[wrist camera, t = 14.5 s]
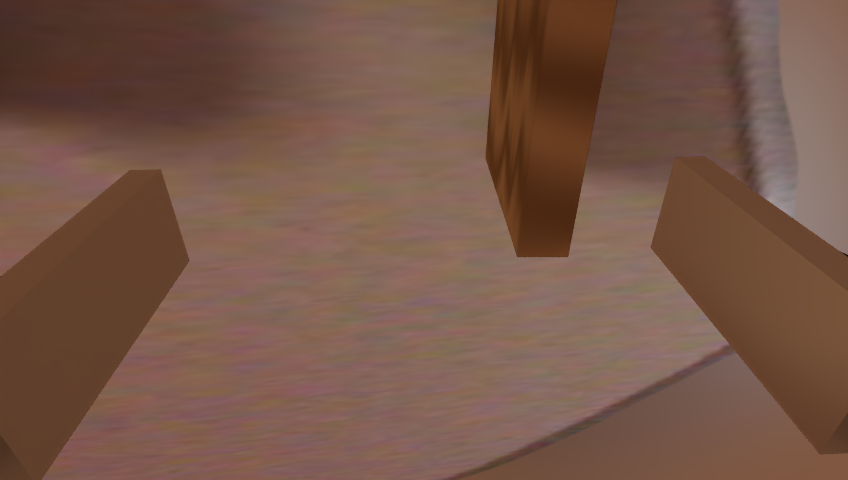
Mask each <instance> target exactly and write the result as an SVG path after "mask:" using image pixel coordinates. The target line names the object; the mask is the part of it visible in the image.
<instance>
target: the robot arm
mask: <svg viewBox="0 0 848 480" xmlns="http://www.w3.org/2000/svg"><path fill="white" fill-rule="evenodd" d="M651 249H652V250H653V251H654V252H655V253H656V255H657V256H658V257H659V258H660V260H661V261H662V262H663V263H664V264H665V266H666V267H667V268H668V269H669V271H670V272H671V273H672V274H673V275H674V277H675V278H676V279H677V280H678V282H679V283H680V284H681V285H682V286H683V288H684V289H685V290H686V291H687V293H688V294H689V295H690V296H691V297H692V299H693V300H694V301H695V302H696V304H697V305H698V306H699V307H700V308H701V310H702V311H703V312H704V313H705V315H706V316H707V317H708V318H709V320H710V321H711V322H712V323H713V324H714V326H715V327H716V328H717V329H718V331H719V332H720V333H721V334H722V335H723V337H724V338H725V339H726V340H727V342H728V343H729V344H730V345H731V346H732V348H733V349H734V350H735V351H736V353H737V354H738V355H739V356H740V357H741V359H742V360H743V361H744V362H745V364H746V365H747V366H748V367H749V368H750V369H751V371H752V372H753V373H754V375H755V376H756V377H757V378H758V379H759V381H760V382H761V383H762V384H763V386H764V387H765V388H766V389H767V390H768V392H769V393H770V394H771V395H772V396H773V398H774V399H775V400H776V401H777V403H778V404H779V405H780V406H781V408H782V409H783V410H784V411H785V412H786V414H787V415H788V416H789V417H790V419H791V420H792V421H793V422H794V423H795V424H796V426H797V427H798V428H799V430H800V431H801V432H802V433H803V434H804V436H805V437H806V438H807V439H808V441H809V442H810V443H811V444H812V445H813V447H814V448H815V449H816V450H817V452H818V453H819V454H838V453H848V255H847V254H845V253H842V252H840V251H838V250H837V249H836V248H834V247H833V246H831V245H830V244H828V243H827V242H826V241H824V240H823V239H821V238H820V237H819V236H817V235H815V234H814V233H813V232H811V231H810V230H808V229H807V228H806V227H804V226H803V225H801V224H800V223H799V222H797V221H796V220H794V219H793V218H791V217H790V216H789V215H787V214H786V213H784V212H783V211H781V210H780V209H779V208H777V207H776V206H774V205H773V204H772V203H770V202H769V201H767V200H766V199H764V198H763V197H762V196H760V195H759V194H757V193H756V192H754V191H753V190H752V189H750V188H749V187H747V186H746V185H744V184H743V183H742V182H740V181H739V180H737V179H736V178H735V177H733V176H732V175H730V174H729V173H727V172H726V171H725V170H723V169H722V168H720V167H719V166H717V165H716V164H715V163H713V162H712V161H710V160H709V159H707V158H706V157H675V161H674V164H673V168H672V172H671V175H670V179H669V183H668V186H667V190H666V193H665V197H664V201H663V204H662V208H661V212H660V215H659V219H658V222H657V226H656V230H655V233H654V237H653V241H652V244H651ZM188 262H189V257H188V254H187V251H186V248H185V245H184V242H183V238H182V235H181V232H180V229H179V226H178V222H177V219H176V216H175V213H174V210H173V207H172V203H171V200H170V197H169V194H168V191H167V188H166V184H165V181H164V178H163V175H162V172H161V169H159V170H129V171H128V172H127V173H126V174H125V175H123V176H122V177H121V178H120V179H119V180H117V181H116V182H115V183H114V184H113V185H111V186H110V187H109V188H108V189H106V190H105V191H104V192H103V193H102V194H100V195H99V196H98V197H97V198H96V199H94V200H93V201H92V202H91V203H89V204H88V205H87V206H86V207H85V208H83V209H82V210H81V211H80V212H79V213H77V214H76V215H75V216H74V217H73V218H71V219H70V220H69V221H68V222H66V223H65V224H64V225H63V226H62V227H60V228H59V229H58V230H57V231H56V232H54V233H53V234H52V235H51V236H49V237H48V238H47V239H46V240H45V241H43V242H42V243H41V244H40V245H39V246H37V247H36V248H35V249H34V250H32V251H31V252H30V253H29V254H28V255H26V256H25V257H24V258H23V259H22V260H20V261H19V262H18V263H17V264H16V265H14V266H13V267H12V268H11V269H9V270H8V271H7V272H6V273H5V274H3V275H2V276H0V480H42V478H43V477H44V475H45V474H46V472H47V471H48V469H49V468H50V466H51V465H52V463H53V462H54V460H55V459H56V457H57V456H58V454H59V453H60V451H61V450H62V449H63V447H64V446H65V444H66V443H67V441H68V440H69V438H70V437H71V435H72V434H73V432H74V431H75V429H76V428H77V426H78V425H79V423H80V422H81V420H82V419H83V417H84V416H85V415H86V413H87V412H88V410H89V409H90V407H91V406H92V404H93V403H94V401H95V400H96V398H97V397H98V395H99V394H100V392H101V391H102V389H103V388H104V386H105V385H106V383H107V382H108V381H109V379H110V378H111V376H112V375H113V373H114V372H115V370H116V369H117V367H118V366H119V364H120V363H121V361H122V360H123V358H124V357H125V355H126V354H127V352H128V351H129V349H130V348H131V347H132V345H133V344H134V342H135V341H136V339H137V338H138V336H139V335H140V333H141V332H142V330H143V329H144V327H145V326H146V324H147V323H148V321H149V320H150V318H151V317H152V315H153V314H154V312H155V311H156V310H157V308H158V307H159V305H160V304H161V302H162V301H163V299H164V298H165V296H166V295H167V293H168V292H169V290H170V289H171V287H172V286H173V284H174V283H175V281H176V280H177V278H178V277H179V276H180V274H181V273H182V271H183V270H184V268H185V267H186V265H187V264H188Z"/></svg>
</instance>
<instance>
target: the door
mask: <svg viewBox="0 0 848 480" xmlns="http://www.w3.org/2000/svg"><path fill="white" fill-rule="evenodd" d="M616 4H617V0H498V4H497V17H496V29H495V42H494V55H493V68H492V81H491V94H490V107H489V119H488V132H487V145H486V161H487V164H488V167H489V170H490V173H491V177H492V180H493V183H494V186H495V189H496V192H497V195H498V198H499V202H500V205H501V208H502V211H503V214H504V217H505V220H506V223H507V226H508V230H509V233H510V236H511V239H512V242H513V245H514V248H515V251H516V254H517V257H568V255H569V249H570V244H571V239H572V234H573V229H574V223H575V218H576V213H577V208H578V202H579V197H580V192H581V187H582V181H583V176H584V171H585V166H586V161H587V155H588V150H589V145H590V140H591V134H592V129H593V124H594V119H595V114H596V108H597V103H598V98H599V93H600V87H601V82H602V77H603V72H604V66H605V61H606V56H607V51H608V46H609V40H610V35H611V30H612V25H613V19H614V14H615V9H616Z"/></svg>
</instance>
